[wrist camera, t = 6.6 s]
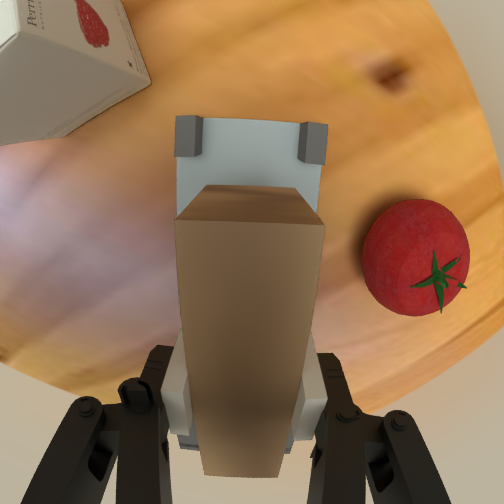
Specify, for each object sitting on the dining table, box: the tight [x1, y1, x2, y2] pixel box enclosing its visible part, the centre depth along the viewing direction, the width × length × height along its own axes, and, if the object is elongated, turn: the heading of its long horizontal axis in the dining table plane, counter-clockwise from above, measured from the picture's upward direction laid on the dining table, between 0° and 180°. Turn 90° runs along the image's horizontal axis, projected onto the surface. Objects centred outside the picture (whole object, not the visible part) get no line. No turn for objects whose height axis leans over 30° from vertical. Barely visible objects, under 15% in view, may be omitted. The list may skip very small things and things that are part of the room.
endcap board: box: [174, 116, 328, 454], centre depth 20 cm, size 10×24×9 cm, turn 177°
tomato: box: [362, 199, 470, 316], centre depth 20 cm, size 9×9×8 cm
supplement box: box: [0, 0, 151, 146], centre depth 11 cm, size 9×9×15 cm
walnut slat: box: [174, 185, 325, 478], centre depth 13 cm, size 4×14×6 cm, turn 178°
